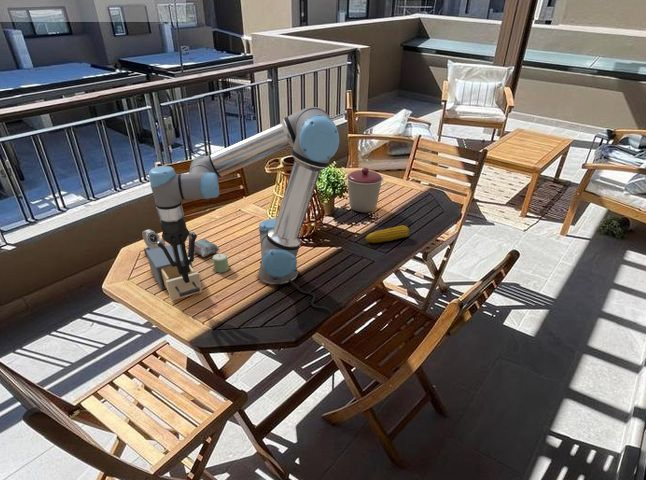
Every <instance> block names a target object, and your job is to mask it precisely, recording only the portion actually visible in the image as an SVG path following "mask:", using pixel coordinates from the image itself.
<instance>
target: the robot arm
mask: <svg viewBox="0 0 646 480" xmlns="http://www.w3.org/2000/svg"><path fill="white" fill-rule="evenodd" d="M339 145H340V134H339V130H338V127H337V125H336V123H335V122H334V121H333V120H332V118H331V116H330V115H329V114H328V113H327V111H325V110H324V109H323V108H320V107H317V106H309V107H306V108H303V109H300V110H298V111H296V112H294V113H292V114H290V115H287V116H286V117H284V118H282V120H281V122H280V123H278V124H275V125H273V126H271V127H269V128H267V129H265V130H263V131H261V132H258V133H256V134H253V135H251V136H248V137H247V138H244V139H242V140H240V141H237V142H236V143H233V144H231V145H228V146H226V147H224V148H221V149H219V150H217V151H215V152H213V153H211V154H208V155H206V156H205V155H199V156H196V157H195V158H193V160H192V161H191V163H190V165H189V171H188V173H177V172H176V171H175V168H173V167H172V166H170V165H169V166H167V165H160V166H159V165H158V166H155V167H152V168H151V169H150V170H149V172H148V177H149V183H150V188H151V192H152V197H153V199H154V203H155V208H156V211H157V216H158V219H159V224H160V228H161V232H162V233H161V238H160V240H157V241H156V243H157V245H158V246H159V247H160V248H161V249H162V250H163V252H164V254H165V255H166V257H167V259H168V261H169V262H170V264H171V265H172V267H175V266H176V267H177V270H178V273H179V274H180V275H182V277H183V280H184V282H185V283H188V282H190V281H189V276H188V273H189V272H190V267H189V265H190V264H189V263H190V262H192V263H193V262H194V261H195V252H194V248H195V242H196V241H197V237H198V235H197V234H196V233H195V231H190V230H189V229H188V227H187V221H186V217H185V214H184V209H183V204H182V200H204V199H205V200H209V199H214V198H218V197H219V196H220V184H219V183H220V182H219V179H220V178H222V177H224V176H226V175H229V174H230V173H234V172H236V171H238V170H240V169H242V168H244V167H247V166H249V165H251V164H254V163H256V162H258V161H261V160H264V159H266V158H268V157H270V156H273V155H275V154H277V153H279V152H281V151H284V150H286V149H289V148H292V150H291V156H292V158H293V160H294V161H293V164H292V167H291V171H290V174H289V178H288V181H287V184H286V188H285V191H284V195H283V197H282V200H281V203H280V206H279V210H278V213H277V217H276V218H269V219H265V220H262V221H260V223H259V225H258V226H259V227H258V231H259V242H260V256H261V259H260V261H259V264H260V265H259V270H258V279H259V281H260V282H261V283H263V284H265V285H268V286H271V287H282V286H287V285H290V284H291V285H292V286H293V287H295V289H297V290H298V291H299V292H300V293H302V294H305V295H309V296H312V299H311V301H310V306H312V308H315V309H320V310H321V309H322V310H325V311H327V312H328V313H329V314H330V315H332V314H333V312H332V310H331V309H330V308H329V307H326V306H323V305H316V304H314V302H315V301H316V294H315V293H314V292H310V291H305V290H303V289H302V288H301V287H299V286H298V285H297V284H296V283H295V281H296V280H297V279H298V277H299V270H298V267H297V265H298V259H297V256H298V253H299V250H300V247H301V244H302V240H301V239H300V236H299V235H300V233H301V230H302V227H303V224H304V221H305V218H306V215H307V212H308V210H309V206H310V203H311V201H312V197H313V194H314V192H315V189H316V185H317V183H318V180H319V177H320V174H321V171H322V170H324V169H327V168H328V166H329V162H330V160H331V158H333V157H334V156H335V154H336V153H337V151H338V149H339ZM187 239H188V246H187V245H186V241H187ZM166 243H168V245H171V246H172V250H173V254H174V258H175V261H173V259H172V257H171V256H170V254H169V252H168V250H167V249H166V247H165V246H166ZM177 245H180V249H181V254H182V258H183V261H184V262H183V263H181V261H180V257H179V253H178V247H177ZM187 247H188V249H187ZM187 250H188V251H187ZM187 254H188V256H187ZM335 374H336V373H335V370H333V371H332V373H331V391H335Z"/></svg>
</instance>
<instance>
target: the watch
mask: <svg viewBox="0 0 646 480" xmlns="http://www.w3.org/2000/svg"><path fill="white" fill-rule="evenodd" d="M142 239H143V241H144V244H145V245H146V247H145V248H143V252H144V255H145V257H147V253H146V250H150V249H154V248H159V246H158V245H157V243H156V241H157V240H160V239H161V238H160V235H159V234H158V233H157V232H155V231H154V230H152V229H151V228H150V229H145V230H143V231H142Z"/></svg>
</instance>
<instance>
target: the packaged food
mask: <svg viewBox="0 0 646 480" xmlns="http://www.w3.org/2000/svg"><path fill="white" fill-rule="evenodd" d="M188 247H189V246H186V250H188ZM220 250H221V249H220V248H219V247H218V245H216V243H213V242H211V241H209V240H207V239H206V238H201V239H198V240H195V248H194V253H196V254H198V255H199V256H200V257H203V258H205V257H208V256H210V255H213V254H215V253H218V252H219V251H220Z"/></svg>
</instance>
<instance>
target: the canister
mask: <svg viewBox="0 0 646 480" xmlns="http://www.w3.org/2000/svg"><path fill="white" fill-rule="evenodd" d="M346 180H347V188H348V201H349V206H350V208H351V209H352V211H354V212H357V213H371V212H373V211H375V209H376V208H377V206H378V201H379V196H380V191H381V187H382V182H383V180H384V177H383V175H382V174H380V173H379V172H376V171H374V170H370V169H369V168H368V167H363V168H361V169H359V170H358V169H357V170H354V171H351V172H349V173H348V174H346Z"/></svg>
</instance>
